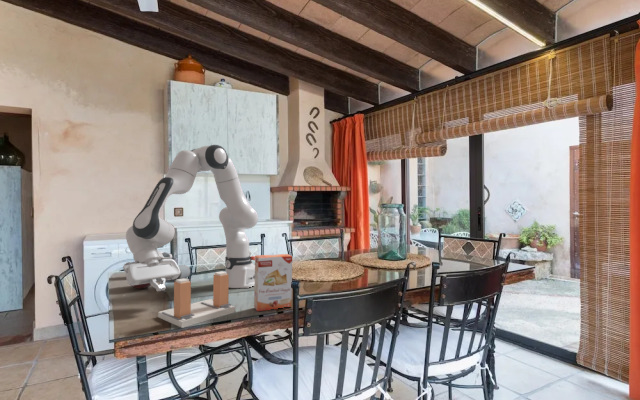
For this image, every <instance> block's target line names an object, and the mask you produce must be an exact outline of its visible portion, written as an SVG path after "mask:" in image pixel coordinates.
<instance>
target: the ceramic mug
mask: <svg viewBox="0 0 640 400" xmlns="http://www.w3.org/2000/svg"><path fill="white" fill-rule="evenodd" d="M178 267H179V269H180V271H181V273H180V275H179V277H178V278H177V279H172V281H174V282H176V280H178V279H183V278H185V279H188V277H189V276H190V275H191V268H190V267H189V266H188V265H186V264H181V265H179V264H178Z"/></svg>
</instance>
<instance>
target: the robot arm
mask: <svg viewBox="0 0 640 400" xmlns="http://www.w3.org/2000/svg"><path fill="white" fill-rule="evenodd" d="M208 171H210V172H211V173H212V174H213V178H214V181H215V185H216V188H217V191H218V194H219V195H218V196H219V198H220V199H221V200H222V202H223V203H224V205H225V206H226V207H223V208H222V209H221V210H220V212H219V215H218V219H219V221H220V223H221V225H222V228H223V231H224V236H225V246H226V247H225V249H226V250H225V251H226V255H225V258H224V259H225V260H224V261H225V263H224V264H225V271H224V272H227V274H228V275H229V288H230V289H239V288H240V289H244V288H245V289H249V287H251V288H253V287H252V286H254V287H255V263H253V262H252V261H255V256H256V255H254V256H253V255H252V256H250V240H249V237H248V236H247V234H246V230H247V229H253V227H255V226H256V225H257V223H258V221H259V215H258V213H257V211H256V210H255V209H254V208H253V207H252V206H251V203H250V202H249V200H248V199H247V197H246V195H245V193H244V191H243V188H242V184H241V181H240V177H239V174H238V172H237V171H238V170H237V169H236V167H235V165H234V162H233V160H232V159H231V158H230V157H229V155H228V153H227V151H226V150H225V148H224V146H221V145H219V144H211V145H204V146H201V147H198V148H194V149H191V150H188V149H184V150H180V151H179V152H178V153H177V154H176V156H175V157H174V159H173V160H172V162H171V165H170V166H169V169H168V171H167V173H166V175H165V176H164V177H162V178H161V179H159V181H158V182H157V184H156V185H155V187H154V188H153V190H152V192H151V194H150V195H149V197H148V199H147V201H146V203H145V204H144V205H143V208H142V209H141V210H140V211H139V213H138V214H137V215H136V216H135V218H134V219H133V222H132V225H131V226H130V227H129V228H128V229H127V230H126V233H125V240H126V243H127V246H128V248H129V251H130V253H132V256H133V257H132V258H133V260H134V261H131V262H129V261H128V262H125V263H124V264H123V268H122V269H123V271H124V272H125V278H126V277H127V279H126V281H128V282H127V283H128V285H129V284H130V285H129V286H131V287H132V286H133V285H140V284H146V283H150V284H151V285H150V286H152V287H153V288H154V289H155V290H156V292H161V291H165V290H166V289H167V287H166V284H165V283H166V281H171V280H172V279H177V278H178V277H179V275H180V273H181V271H180V269H179V267H178V266H179V264H178V263H177V262H176V260H174V259H173V255H172V253H171V252H170V253H169V252H164V251H161V250H158V249H160V248H162V247H165V246H166V245H168V244H169V243H171V242H172V241H173V240H174V238H175V235H176V229H175V226H174V225H173V224H171V223H170V222H168V221H167V220H165V219H163V218H161V211H162V209H163V207H164V205H165V204H166V202H167V200H168V198H169V197H170V196H172V195H183V194H186V193H188V192H190V190H191V188H192V187H193V185H194V182H195V180H196V177H197V174H198V173H199V172H208ZM172 281H173V280H172Z"/></svg>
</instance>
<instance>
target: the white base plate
mask: <svg viewBox="0 0 640 400" xmlns="http://www.w3.org/2000/svg"><path fill="white" fill-rule="evenodd" d="M233 313H236V306H234V305H232V303H229V302H228V304H225V305H221V306H220V308H219V307H216V306H213V298H208V299H205V300H200V301H196V302H191V314H188V315H184V316H181V319H179V318H177V317H175V316H174V307H173V308H169V309H165V310H161V311H158V313H157V315H158V316H157V318H159V319H161V320H163V321H166V322H167V323H170V324H172V325H174V326H177V327H179V328H180V329H181V328H182V329H183V328H186V327H190V326H194V325H196V324H199V323H203V322H204V323H205V322H207V321H210V320H214V319H217V318H221V317H224V316H227V315H230V314H233Z"/></svg>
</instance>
